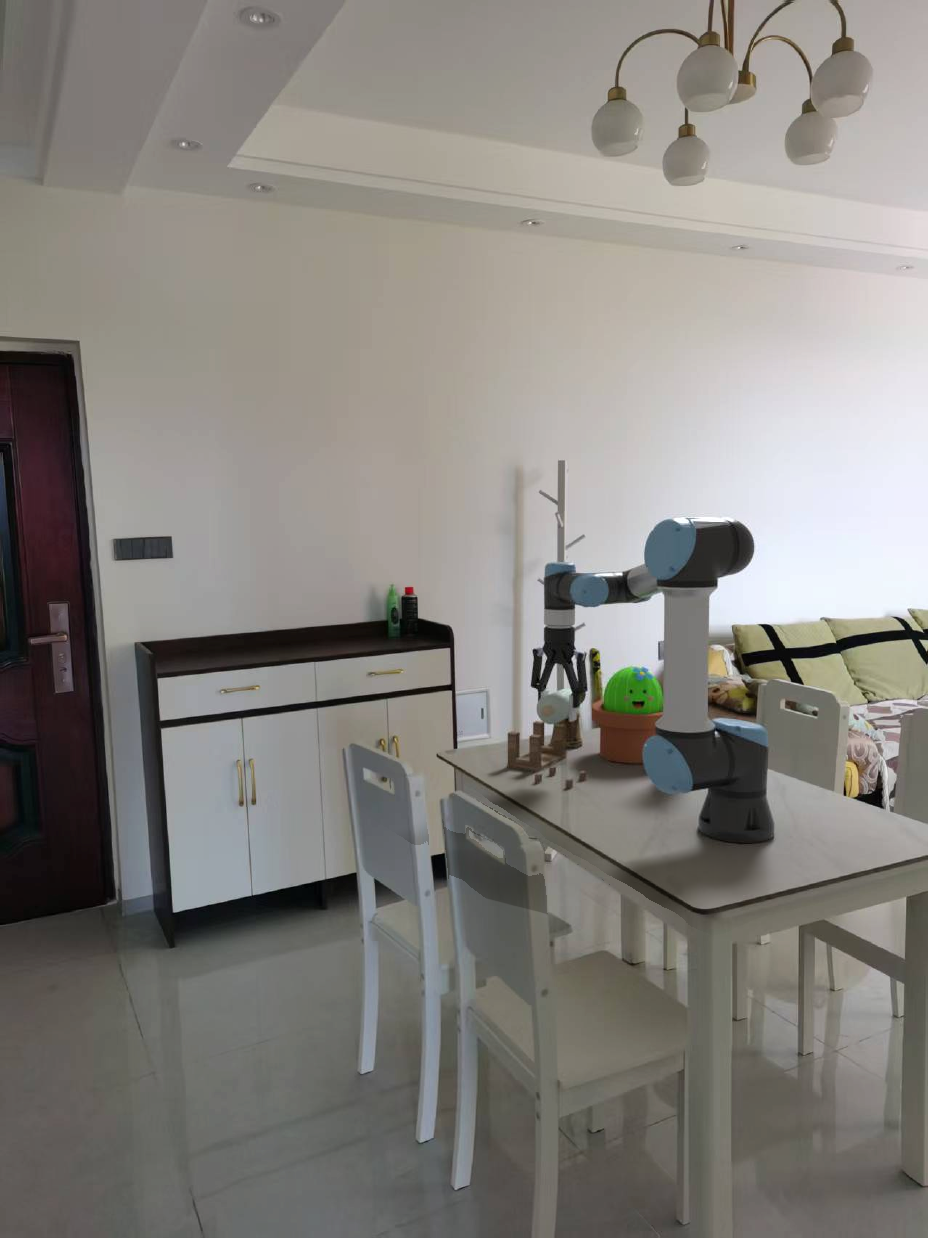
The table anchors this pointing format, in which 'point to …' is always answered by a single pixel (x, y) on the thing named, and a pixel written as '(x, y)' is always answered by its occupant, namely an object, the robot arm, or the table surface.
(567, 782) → the wooden cubes
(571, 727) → the wooden mug
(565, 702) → the paper roll
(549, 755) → the roll holder
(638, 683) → the potted cactus
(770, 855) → the table surface
